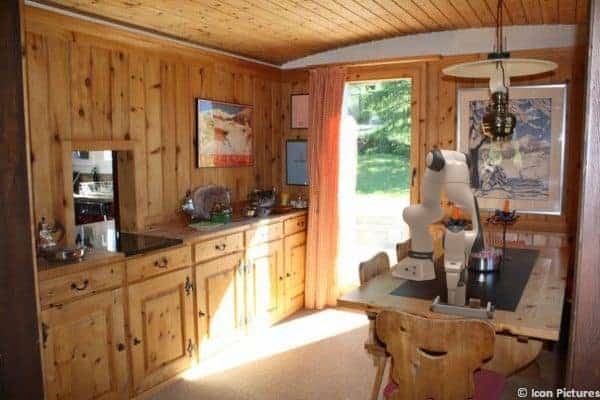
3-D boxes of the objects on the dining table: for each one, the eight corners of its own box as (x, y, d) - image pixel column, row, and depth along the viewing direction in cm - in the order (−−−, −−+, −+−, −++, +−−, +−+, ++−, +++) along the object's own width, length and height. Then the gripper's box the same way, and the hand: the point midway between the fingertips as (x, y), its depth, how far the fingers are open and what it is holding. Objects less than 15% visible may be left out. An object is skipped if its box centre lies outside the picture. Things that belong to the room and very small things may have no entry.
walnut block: (468, 312, 207) (469, 300, 207) (469, 309, 211) (470, 298, 210) (479, 313, 206) (479, 302, 205) (479, 311, 209) (480, 299, 209)
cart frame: (429, 311, 209) (429, 304, 208) (433, 302, 221) (434, 295, 220) (492, 319, 199) (492, 312, 199) (493, 309, 211) (494, 302, 210)
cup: (467, 302, 218) (467, 283, 217) (460, 310, 210) (460, 290, 209) (450, 299, 222) (451, 280, 221) (443, 307, 214) (443, 287, 213)
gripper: (449, 256, 231) (448, 285, 232) (444, 268, 212) (443, 299, 214) (463, 257, 228) (462, 287, 230) (459, 269, 209) (459, 301, 211)
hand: (453, 293), depth 222 cm, fingers closed, pressing on cup
